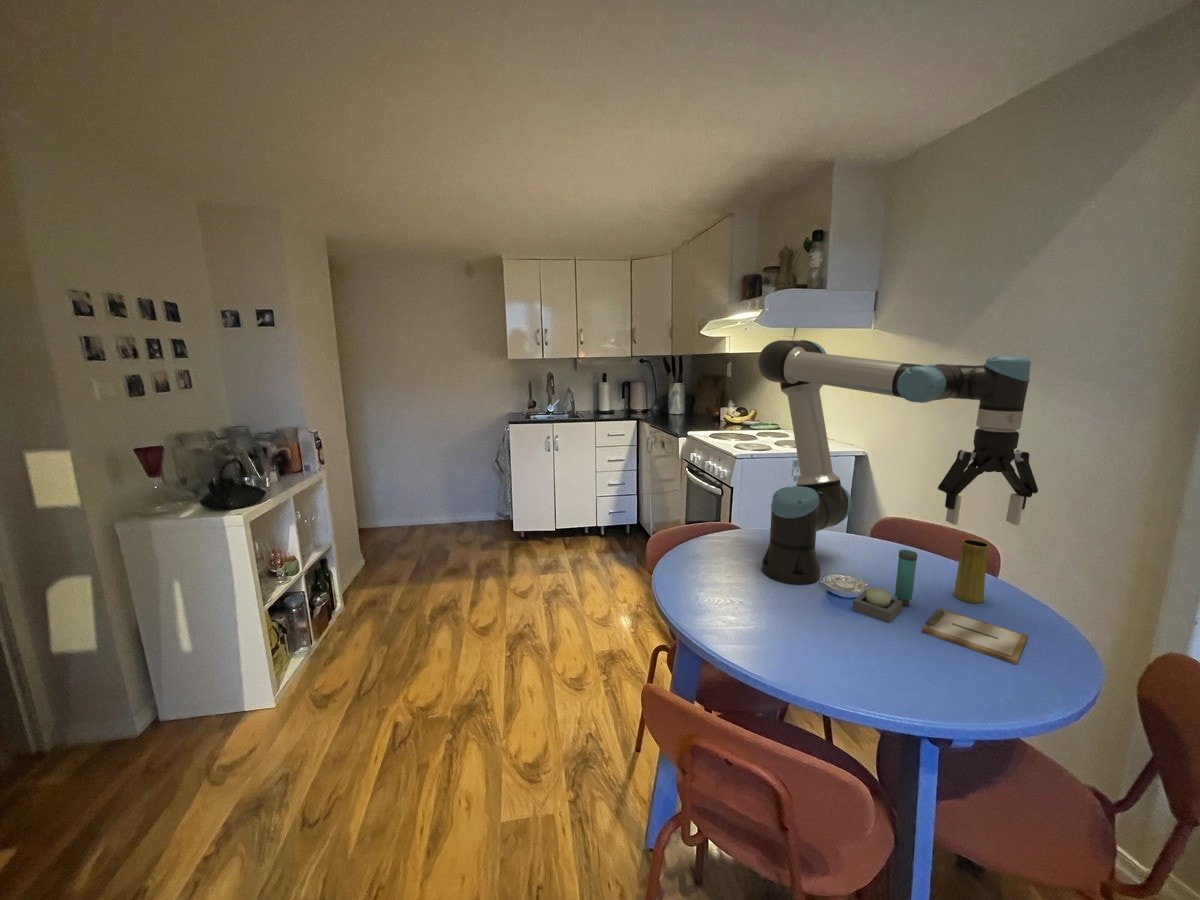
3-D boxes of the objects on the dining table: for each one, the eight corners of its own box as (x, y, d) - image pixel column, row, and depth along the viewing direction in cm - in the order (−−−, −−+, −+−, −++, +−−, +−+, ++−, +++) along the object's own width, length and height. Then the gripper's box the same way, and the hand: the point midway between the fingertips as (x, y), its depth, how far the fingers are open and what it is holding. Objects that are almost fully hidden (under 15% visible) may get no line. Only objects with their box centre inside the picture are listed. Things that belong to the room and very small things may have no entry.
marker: (891, 603, 120) (896, 552, 118) (896, 598, 123) (902, 548, 120) (908, 608, 117) (914, 557, 115) (913, 603, 120) (919, 552, 117)
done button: (862, 603, 117) (863, 592, 116) (870, 596, 120) (871, 585, 120) (885, 610, 113) (886, 599, 113) (893, 603, 116) (894, 592, 116)
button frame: (852, 610, 117) (853, 600, 117) (865, 598, 122) (866, 589, 122) (889, 623, 111) (890, 612, 111) (901, 610, 117) (902, 600, 116)
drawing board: (921, 632, 108) (922, 626, 107) (938, 611, 116) (939, 605, 116) (1016, 664, 96) (1017, 658, 96) (1027, 639, 105) (1028, 632, 104)
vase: (989, 604, 119) (997, 548, 116) (960, 602, 120) (967, 546, 118) (975, 592, 125) (983, 539, 122) (948, 590, 126) (955, 537, 124)
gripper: (951, 431, 103) (936, 528, 108) (1071, 432, 103) (1052, 529, 107) (928, 426, 111) (915, 517, 115) (1040, 426, 110) (1024, 517, 115)
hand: (981, 523), depth 111 cm, fingers open, 13 cm apart
